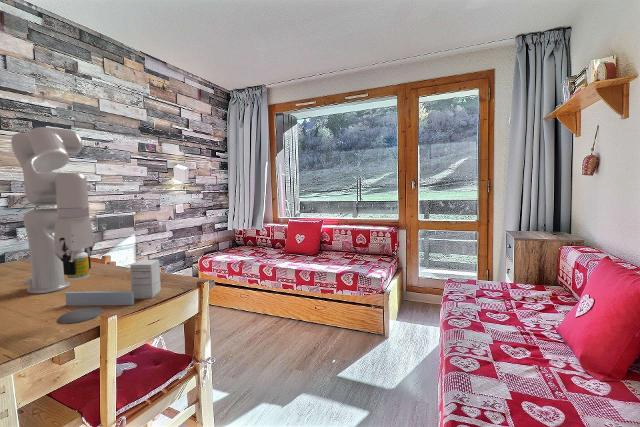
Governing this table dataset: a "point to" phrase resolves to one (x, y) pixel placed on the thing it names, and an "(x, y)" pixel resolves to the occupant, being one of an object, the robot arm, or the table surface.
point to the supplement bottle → (80, 265)
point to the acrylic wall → (100, 298)
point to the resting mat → (80, 315)
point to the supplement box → (145, 278)
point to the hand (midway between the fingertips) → (77, 271)
